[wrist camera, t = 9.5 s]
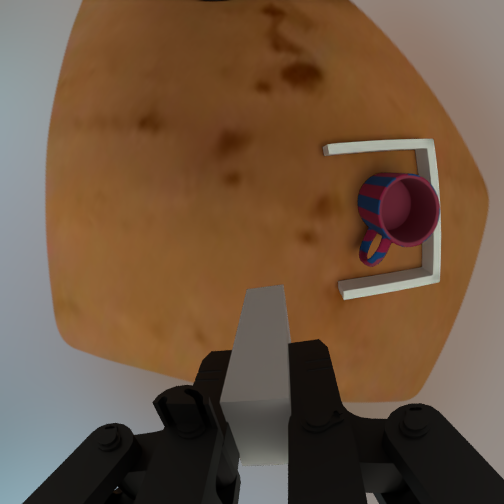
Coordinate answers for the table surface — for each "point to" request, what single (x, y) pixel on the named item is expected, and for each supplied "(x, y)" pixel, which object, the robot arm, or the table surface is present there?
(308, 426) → the robot arm
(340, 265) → the table surface
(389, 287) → the white u-shaped frame
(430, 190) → the mug
